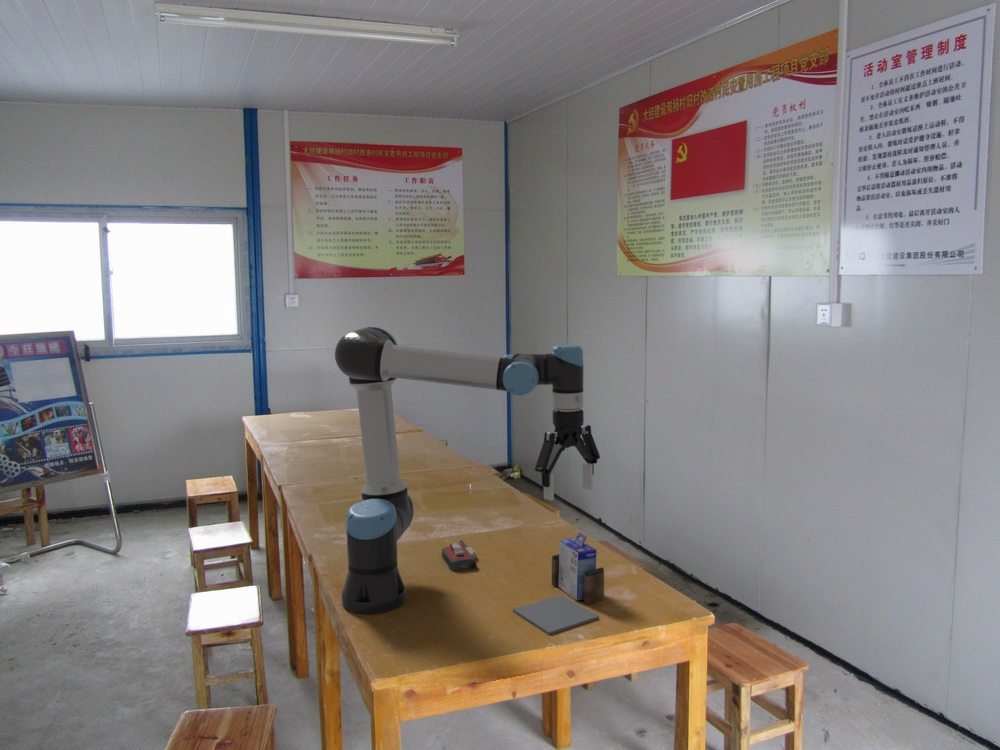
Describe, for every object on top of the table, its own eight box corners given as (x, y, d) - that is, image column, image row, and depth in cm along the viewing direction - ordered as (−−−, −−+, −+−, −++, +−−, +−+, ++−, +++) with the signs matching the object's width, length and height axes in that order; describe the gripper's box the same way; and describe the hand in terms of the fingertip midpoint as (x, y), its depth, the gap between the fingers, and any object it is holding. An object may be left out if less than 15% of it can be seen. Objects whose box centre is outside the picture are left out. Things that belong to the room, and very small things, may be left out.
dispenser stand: (587, 604, 180) (587, 572, 179) (551, 585, 192) (551, 554, 191) (603, 599, 183) (604, 568, 182) (567, 580, 195) (567, 550, 194)
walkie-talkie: (484, 570, 204) (464, 545, 222) (483, 554, 203) (464, 530, 222) (451, 574, 201) (434, 548, 220) (451, 558, 200) (434, 533, 219)
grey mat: (549, 634, 166) (549, 632, 165) (512, 611, 177) (512, 609, 177) (598, 618, 173) (598, 616, 173) (560, 597, 185) (560, 594, 185)
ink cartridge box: (597, 598, 184) (597, 540, 182) (577, 602, 182) (577, 543, 180) (577, 583, 193) (577, 527, 191) (557, 587, 191) (557, 531, 189)
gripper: (541, 417, 175) (542, 507, 178) (613, 404, 191) (613, 487, 194) (519, 413, 181) (520, 500, 184) (591, 400, 197) (592, 481, 200)
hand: (568, 493), depth 189 cm, fingers open, 13 cm apart
